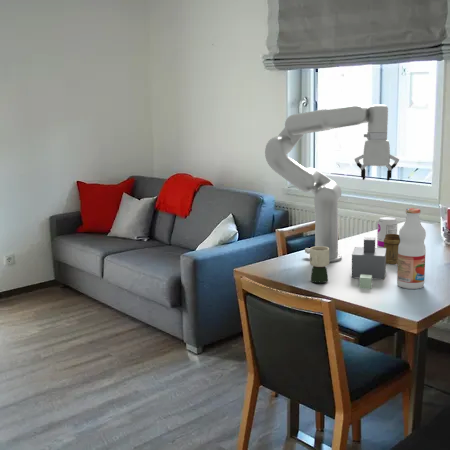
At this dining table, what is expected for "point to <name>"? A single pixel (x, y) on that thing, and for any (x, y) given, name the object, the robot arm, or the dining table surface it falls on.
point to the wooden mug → (391, 248)
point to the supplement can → (385, 229)
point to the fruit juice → (411, 252)
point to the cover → (369, 260)
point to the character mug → (319, 263)
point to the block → (366, 281)
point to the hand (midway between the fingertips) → (376, 179)
